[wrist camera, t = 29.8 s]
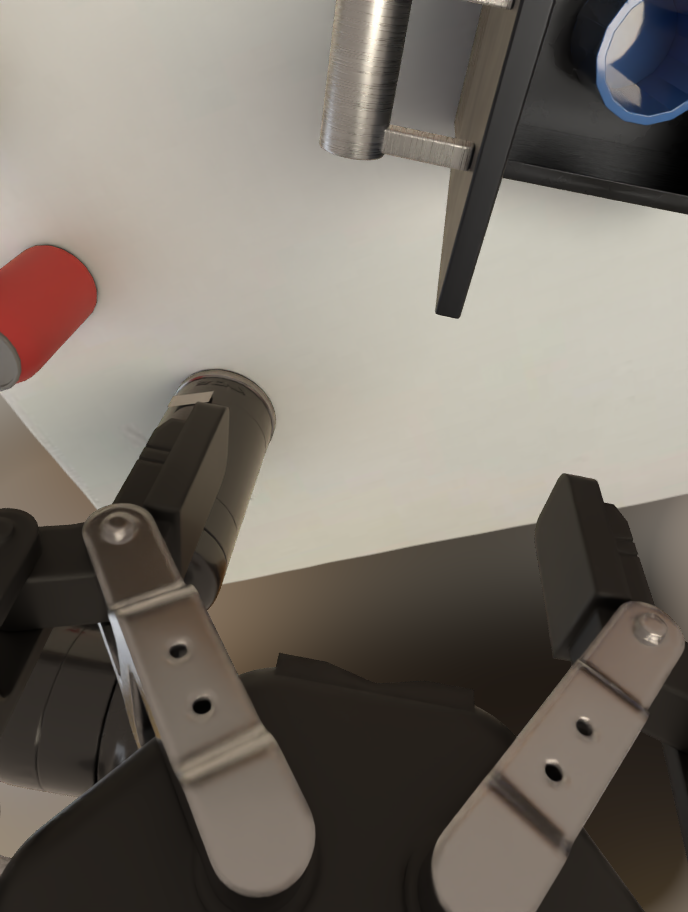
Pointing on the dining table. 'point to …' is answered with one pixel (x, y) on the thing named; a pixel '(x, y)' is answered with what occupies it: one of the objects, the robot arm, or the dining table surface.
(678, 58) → the cup
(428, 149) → the black box lid
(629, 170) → the black lidded box
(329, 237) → the dining table surface
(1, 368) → the beer can
